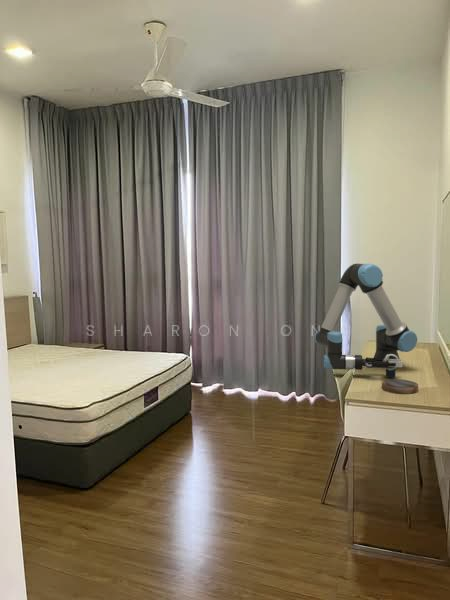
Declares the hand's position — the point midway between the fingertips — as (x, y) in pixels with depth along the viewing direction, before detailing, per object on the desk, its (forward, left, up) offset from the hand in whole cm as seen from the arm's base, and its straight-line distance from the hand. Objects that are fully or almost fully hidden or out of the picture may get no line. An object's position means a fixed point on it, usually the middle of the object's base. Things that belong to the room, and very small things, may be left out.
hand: (401, 363), depth 243 cm
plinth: (+18, +10, -8) cm, 22 cm away
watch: (+3, -4, -7) cm, 9 cm away
